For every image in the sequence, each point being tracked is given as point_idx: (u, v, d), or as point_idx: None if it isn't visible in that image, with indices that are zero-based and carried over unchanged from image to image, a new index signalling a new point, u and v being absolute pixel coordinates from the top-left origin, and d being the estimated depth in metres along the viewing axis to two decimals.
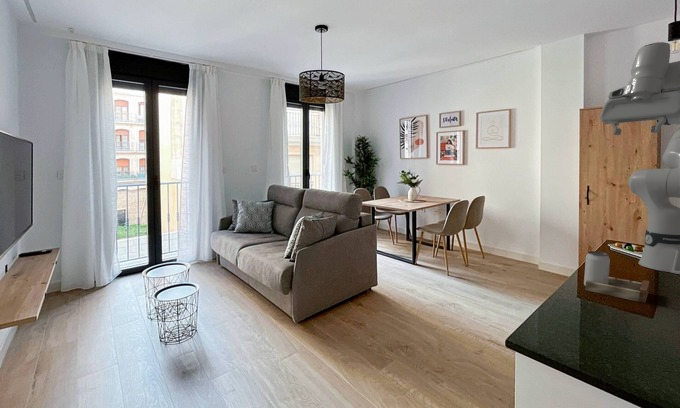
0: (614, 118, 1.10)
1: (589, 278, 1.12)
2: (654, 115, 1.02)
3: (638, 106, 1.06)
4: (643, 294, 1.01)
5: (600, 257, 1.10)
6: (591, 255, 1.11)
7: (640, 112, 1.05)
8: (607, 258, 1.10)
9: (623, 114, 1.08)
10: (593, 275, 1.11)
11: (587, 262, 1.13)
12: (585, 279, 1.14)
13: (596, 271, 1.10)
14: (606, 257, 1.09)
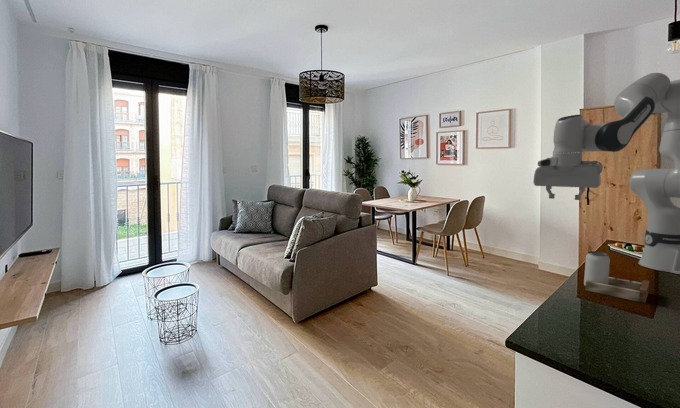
0: (545, 185, 1.24)
1: (589, 278, 1.12)
2: (578, 186, 1.16)
3: (564, 176, 1.19)
4: (643, 294, 1.01)
5: (600, 257, 1.10)
6: (591, 255, 1.11)
7: (566, 182, 1.19)
8: (607, 258, 1.10)
9: (552, 183, 1.22)
10: (593, 275, 1.11)
11: (587, 262, 1.13)
12: (585, 279, 1.14)
13: (596, 271, 1.10)
14: (606, 257, 1.09)
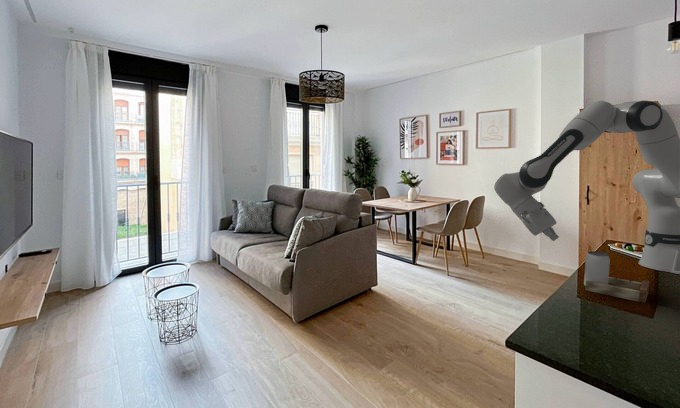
0: None
1: (589, 278, 1.12)
2: (539, 233, 1.20)
3: None
4: (643, 294, 1.01)
5: (600, 257, 1.10)
6: (591, 255, 1.11)
7: None
8: (607, 258, 1.10)
9: None
10: (593, 275, 1.11)
11: (587, 262, 1.13)
12: (585, 279, 1.14)
13: (596, 271, 1.10)
14: (606, 257, 1.09)
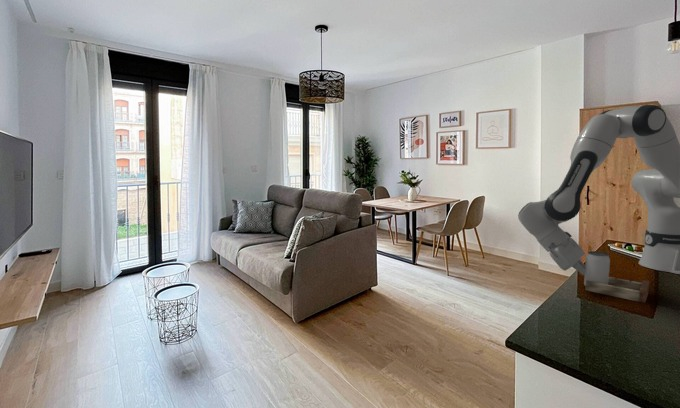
0: None
1: (590, 278, 1.12)
2: None
3: None
4: (643, 294, 1.01)
5: (600, 257, 1.10)
6: (591, 255, 1.11)
7: None
8: (607, 258, 1.09)
9: None
10: (593, 275, 1.11)
11: (587, 262, 1.13)
12: (585, 279, 1.14)
13: (596, 271, 1.10)
14: (606, 257, 1.09)
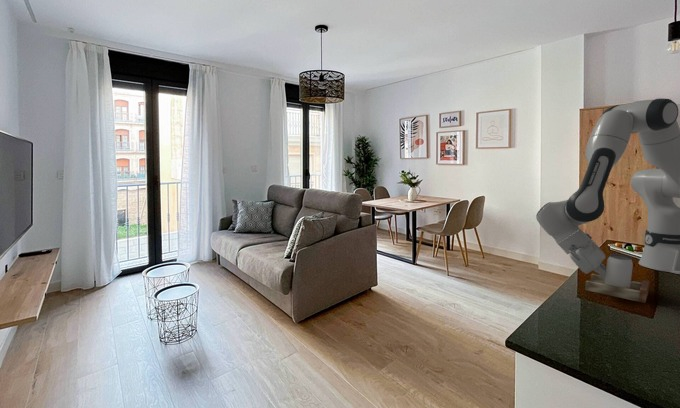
0: None
1: (609, 281, 1.08)
2: None
3: None
4: (643, 294, 1.01)
5: (621, 260, 1.05)
6: (612, 258, 1.07)
7: None
8: (629, 262, 1.05)
9: None
10: (612, 279, 1.07)
11: (607, 265, 1.09)
12: (605, 282, 1.10)
13: (616, 275, 1.06)
14: (628, 261, 1.05)
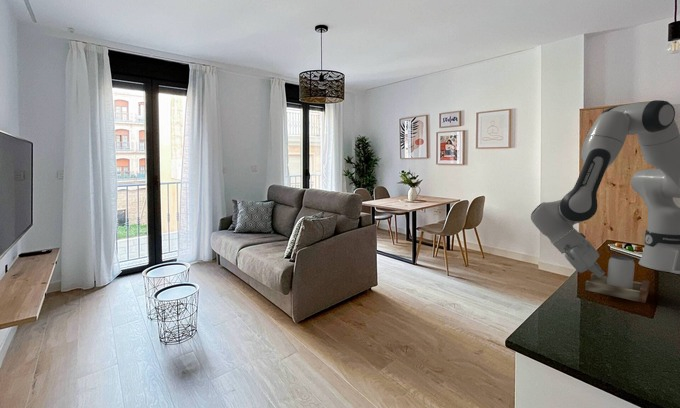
0: None
1: (611, 282, 1.08)
2: None
3: None
4: (643, 294, 1.01)
5: (622, 261, 1.05)
6: (613, 258, 1.07)
7: None
8: (631, 262, 1.05)
9: None
10: (614, 280, 1.07)
11: (609, 266, 1.09)
12: (607, 283, 1.10)
13: (617, 275, 1.06)
14: (629, 261, 1.05)
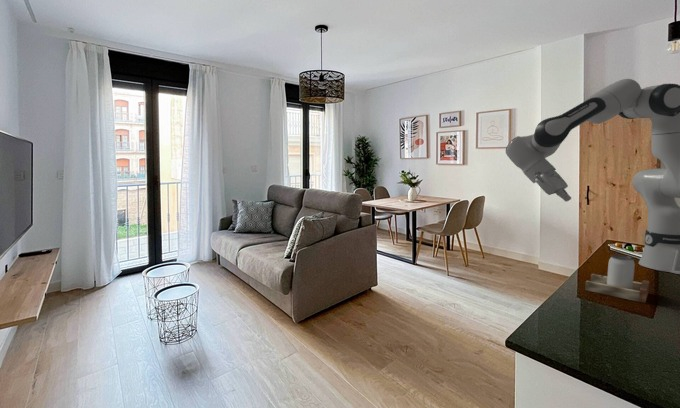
0: None
1: (611, 282, 1.08)
2: (552, 193, 1.19)
3: None
4: (643, 294, 1.01)
5: (622, 261, 1.05)
6: (613, 258, 1.07)
7: None
8: (631, 262, 1.05)
9: None
10: (614, 280, 1.07)
11: (609, 266, 1.09)
12: (607, 283, 1.10)
13: (618, 275, 1.06)
14: (629, 261, 1.05)
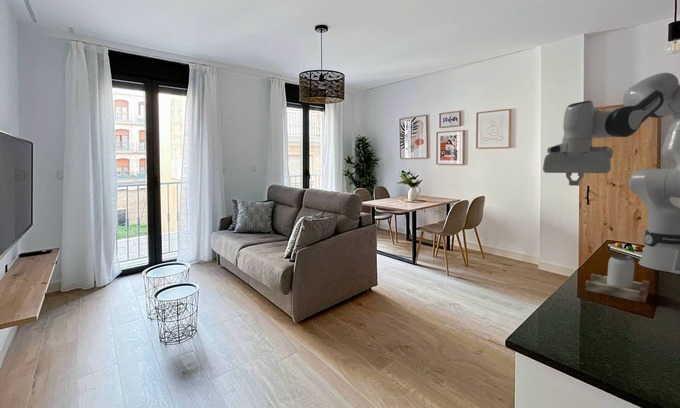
0: (555, 171, 1.24)
1: (611, 282, 1.08)
2: (588, 172, 1.17)
3: (574, 162, 1.20)
4: (643, 294, 1.01)
5: (622, 261, 1.05)
6: (613, 258, 1.07)
7: (576, 168, 1.19)
8: (631, 262, 1.05)
9: (562, 169, 1.22)
10: (614, 280, 1.07)
11: (609, 266, 1.09)
12: (607, 283, 1.10)
13: (617, 275, 1.06)
14: (629, 261, 1.05)
